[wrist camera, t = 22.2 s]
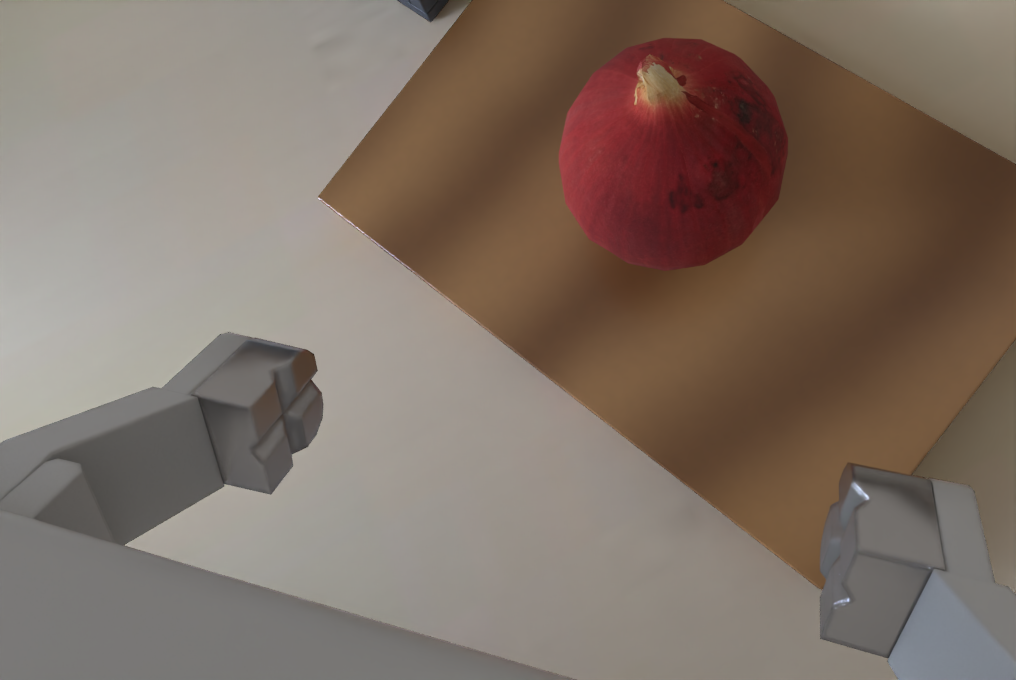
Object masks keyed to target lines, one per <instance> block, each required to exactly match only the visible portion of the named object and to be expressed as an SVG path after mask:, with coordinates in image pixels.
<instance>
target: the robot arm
mask: <svg viewBox="0 0 1016 680" xmlns="http://www.w3.org/2000/svg"><path fill="white" fill-rule="evenodd" d="M317 371H318V370H317V366H316V361H315V357H314V354H313V353H311V352H310V351H308V350H306V349H302V348H297V347H293V346H289V345H285V344H280V343H276V342H272V341H268V340H263V339H259V338H252V337H248V336H244V335H239V334H235V333H231V332H228V333H224V334H220V335H219V336H218V337H217V338H215V339H214V340H213V341H212V342H211V343H210V344H209V345H208V346H207V347H206V348H205V349H204V350H202V351H201V352H200V353H199V354H198V355H197V356H196V357H195V358H194V359H193V360H192V361H191V362H189V363H188V364H187V365H186V366H185V367H184V368H183V369H182V370H181V371H180V372H179V373H178V374H176V375H175V376H174V377H173V378H172V379H171V380H170V381H169V382H168V383H167V384H166V385H165V386H163V387H162V388H157V387H151V388H148V389H146V390H143V391H140V392H137V393H135V394H132V395H129V396H126V397H123V398H121V399H118V400H115V401H112V402H110V403H107V404H104V405H101V406H99V407H96V408H93V409H90V410H88V411H85V412H82V413H79V414H77V415H74V416H71V417H68V418H65V419H63V420H60V421H57V422H54V423H52V424H49V425H46V426H43V427H41V428H38V429H35V430H32V431H30V432H27V433H24V434H21V435H19V436H16V437H13V438H10V439H8V440H5V441H3V442H2V443H1V444H0V680H576V679H572V678H569V677H566V676H562V675H559V674H555V673H552V672H549V671H545V670H542V669H538V668H535V667H532V666H528V665H525V664H522V663H518V662H515V661H511V660H508V659H505V658H501V657H498V656H495V655H491V654H488V653H484V652H481V651H478V650H474V649H471V648H468V647H464V646H461V645H457V644H454V643H451V642H447V641H444V640H441V639H437V638H434V637H431V636H427V635H424V634H420V633H417V632H414V631H410V630H407V629H404V628H400V627H397V626H393V625H390V624H387V623H383V622H380V621H377V620H373V619H370V618H367V617H363V616H360V615H356V614H353V613H350V612H346V611H343V610H340V609H336V608H333V607H329V606H326V605H323V604H319V603H316V602H313V601H309V600H306V599H302V598H299V597H296V596H292V595H289V594H286V593H282V592H279V591H275V590H272V589H269V588H265V587H262V586H259V585H255V584H252V583H248V582H245V581H242V580H238V579H235V578H232V577H228V576H225V575H221V574H218V573H215V572H211V571H208V570H205V569H201V568H198V567H194V566H191V565H188V564H184V563H181V562H178V561H174V560H171V559H167V558H164V557H161V556H157V555H154V554H151V553H147V552H144V551H140V550H137V549H134V548H130V547H127V546H124V545H125V544H127V543H128V542H130V541H132V540H134V539H135V538H137V537H139V536H140V535H142V534H144V533H145V532H147V531H149V530H151V529H152V528H154V527H156V526H157V525H159V524H161V523H163V522H164V521H166V520H168V519H169V518H171V517H173V516H174V515H176V514H178V513H180V512H181V511H183V510H185V509H186V508H188V507H190V506H192V505H193V504H195V503H197V502H198V501H200V500H202V499H204V498H205V497H207V496H209V495H210V494H212V493H214V492H215V491H217V490H219V489H221V488H222V487H224V484H227V485H232V486H236V487H240V488H245V489H249V490H253V491H258V492H262V493H266V494H272V493H273V491H274V490H275V489H276V488H277V486H278V485H279V484H280V482H281V481H282V480H283V478H284V477H285V476H286V475H287V473H288V472H289V471H290V469H291V468H292V467H293V460H292V454H294V453H296V452H298V451H300V450H302V449H304V448H306V447H308V446H309V444H310V443H311V441H312V440H313V439H314V437H315V436H316V435H317V432H318V429H319V426H320V423H321V421H322V417H323V399H322V392H321V391H320V390H319V389H318V387H317V386H316V385H315V384H314V383H313V381H312V380H311V379H312V378H313V376H314V375H315V374H316V372H317ZM820 572H821V573H822V575H823V576H824V577H825V579H826V582H825V585H824V587H823V590H822V593H821V596H820V639H823V640H826V641H830V642H833V643H837V644H840V645H844V646H847V647H851V648H854V649H858V650H861V651H865V652H868V653H871V654H875V655H878V656H882V657H885V658H889V659H888V661H887V662H888V663H889V665H890V667H891V668H892V670H893V671H894V673H895V675H896V676H897V678H898V680H1016V594H1015V593H1014V592H1013V591H1012V590H1011V589H1010V588H1009V587H1008V586H1005V585H1000V584H996V583H995V579H994V575H993V571H992V566H991V562H990V557H989V553H988V549H987V544H986V540H985V536H984V531H983V527H982V522H981V518H980V514H979V509H978V505H977V501H976V496H975V492H974V490H973V489H972V488H971V487H970V486H969V485H965V484H960V483H954V482H949V481H944V480H939V479H933V478H927V479H926V478H924V477H920V476H915V475H910V474H905V473H900V472H895V471H890V470H885V469H880V468H875V467H870V466H865V465H860V464H855V463H850V462H848V463H847V465H846V466H845V468H844V469H843V472H842V475H841V478H840V480H839V501H837V502H836V503H834V504H832V505H830V508H829V512H828V515H827V518H826V521H825V525H824V530H823V535H822V539H821V549H820Z"/></svg>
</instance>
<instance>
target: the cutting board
mask: <svg viewBox="0 0 1016 680" xmlns="http://www.w3.org/2000/svg"><path fill="white" fill-rule="evenodd" d="M661 38H684V39H702V40H704V41H707V42H709V43H711V44H713V45H716V46H718V47H720V48H722V49H725V50H727V51H729V52H731V53H734V54H735V55H737V56H738V57H740V58H741V59H742V60H743V61H744V62H745V63H746V64H747V65H748V66H749V67H750V68H751V69H752V71H753V72H754V73H755V74H756V75H757V76H758V77H759V78H760V79H761V80H762V81H763V82H764V83H765V84H766V85H767V86H768V88H769V89H770V91H771V92H772V94H773V95H774V97H775V99H776V102H777V105H778V108H779V112H780V115H781V118H782V121H783V124H784V127H785V130H786V133H787V136H788V155H787V160H786V165H785V170H784V175H783V180H782V185H781V190H780V195H779V199H778V201H777V202H776V203H775V204H774V206H773V207H772V208H771V210H770V211H769V212H768V213H767V215H766V216H765V217H764V218H763V219H762V221H761V222H760V223H759V224H758V226H757V227H756V228H755V229H754V231H753V232H752V233H751V234H750V236H749V237H748V238H747V239H746V240H745V242H744V243H743V244H742V245H740V246H738V247H736V248H735V249H733V250H731V251H729V252H727V253H726V254H724V255H722V256H720V257H718V258H717V259H715V260H713V261H711V262H709V263H707V264H706V265H702V266H696V267H689V268H682V269H676V270H669V271H663V270H658V269H653V268H648V267H643V266H638V265H633V264H628V263H627V262H625V261H624V260H622V259H620V258H619V257H617V256H616V255H614V254H613V253H611V252H609V251H608V250H606V249H604V248H603V247H601V246H599V245H598V244H596V243H594V242H593V241H591V240H589V239H588V237H587V236H586V234H585V233H584V231H583V229H582V228H581V226H580V225H579V223H578V222H577V220H576V219H575V217H574V216H573V214H572V212H571V211H570V209H569V208H568V206H567V205H566V203H565V197H564V191H563V185H562V179H561V173H560V168H559V149H560V145H561V140H562V135H563V131H564V126H565V121H566V117H567V112H568V111H569V109H570V108H571V106H572V105H573V103H574V102H575V100H576V98H577V97H578V95H579V94H580V92H581V91H582V89H583V88H584V86H585V85H586V83H587V82H588V80H589V79H590V77H591V76H592V74H593V73H594V72H595V71H597V70H598V69H599V68H600V67H602V66H603V65H604V64H606V63H607V62H608V61H610V60H611V59H612V58H614V57H615V56H616V55H617V54H619V53H620V52H621V51H623V50H624V49H625V48H627V47H631V46H635V45H638V44H642V43H646V42H650V41H654V40H657V39H661ZM318 199H319V200H320V201H322V202H323V203H324V204H325V205H327V206H328V207H329V208H331V209H332V210H333V211H334V212H336V213H337V214H338V215H339V216H341V217H342V218H343V219H345V220H346V221H347V222H348V223H350V224H351V225H352V226H354V227H355V228H356V229H357V230H359V231H360V232H361V233H363V234H364V235H365V236H366V237H368V238H369V239H370V240H372V241H373V242H374V243H375V244H377V245H378V246H379V247H381V248H382V249H383V250H384V251H386V252H387V253H388V254H390V255H391V256H392V257H393V258H395V259H396V260H397V261H399V262H400V263H401V264H402V265H404V266H405V267H406V268H408V269H409V270H410V271H411V272H413V273H414V274H415V275H417V276H418V277H419V278H420V279H422V280H423V281H424V282H426V283H427V284H428V285H429V286H431V287H432V288H433V289H435V290H436V291H437V292H438V293H440V294H441V295H442V296H443V297H445V298H446V299H447V300H449V301H450V302H451V303H452V304H454V305H455V306H456V307H458V308H459V309H460V310H461V311H463V312H464V313H465V314H467V315H468V316H469V317H470V318H472V319H473V320H474V321H476V322H477V323H478V324H479V325H481V326H482V327H483V328H485V329H486V330H487V331H488V332H490V333H491V334H492V335H494V336H495V337H496V338H497V339H499V340H500V341H501V342H503V343H504V344H505V345H506V346H508V347H509V348H510V349H512V350H513V351H514V352H515V353H517V354H518V355H519V356H521V357H522V358H523V359H524V360H526V361H527V362H528V363H530V364H531V365H532V366H533V367H535V368H536V369H537V370H539V371H540V372H541V373H542V374H544V375H545V376H546V377H548V378H549V379H550V380H551V381H553V382H554V383H555V384H557V385H558V386H559V387H560V388H562V389H563V390H564V391H565V392H567V393H568V394H569V395H571V396H572V397H573V398H574V399H576V400H577V401H578V402H580V403H581V404H582V405H583V406H585V407H586V408H587V409H589V410H590V411H591V412H592V413H594V414H595V415H596V416H598V417H599V418H600V419H601V420H603V421H604V422H605V423H607V424H608V425H609V426H610V427H612V428H613V429H614V430H616V431H617V432H618V433H619V434H621V435H622V436H623V437H625V438H626V439H627V440H628V441H630V442H631V443H632V444H634V445H635V446H636V447H637V448H639V449H640V450H641V451H643V452H644V453H645V454H646V455H648V456H649V457H650V458H652V459H653V460H654V461H655V462H657V463H658V464H659V465H661V466H662V467H663V468H664V469H666V470H667V471H668V472H670V473H671V474H672V475H673V476H675V477H676V478H677V479H679V480H680V481H681V482H682V483H684V484H685V485H686V486H687V487H689V488H690V489H691V490H693V491H694V492H695V493H696V494H698V495H699V496H700V497H702V498H703V499H704V500H705V501H707V502H708V503H709V504H711V505H712V506H713V507H714V508H716V509H717V510H718V511H720V512H721V513H722V514H723V515H725V516H726V517H727V518H729V519H730V520H731V521H732V522H734V523H735V524H736V525H738V526H739V527H740V528H741V529H743V530H744V531H745V532H747V533H748V534H749V535H750V536H752V537H753V538H754V539H756V540H757V541H758V542H759V543H761V544H762V545H763V546H765V547H766V548H767V549H768V550H770V551H771V552H772V553H774V554H775V555H776V556H777V557H779V558H780V559H781V560H783V561H784V562H785V563H786V564H788V565H789V566H790V567H792V568H793V569H794V570H795V571H797V572H798V573H799V574H801V575H802V576H803V577H804V578H806V579H807V580H808V581H809V582H811V583H812V584H813V585H815V586H816V587H817V588H819V589H821V590H822V589H823V587H824V585H825V582H826V579H825V577H824V576H823V575H822V573H821V572H820V549H821V539H822V535H823V530H824V525H825V521H826V518H827V515H828V512H829V508H830V505H832V504H834V503H836V502H837V501H839V480H840V478H841V475H842V472H843V469H844V468H845V466H846V465H847V463H848V462H850V463H855V464H860V465H865V466H870V467H875V468H880V469H885V470H890V471H895V472H900V473H905V474H910V475H912V473H913V472H914V471H915V469H916V468H917V467H918V466H919V464H920V463H921V462H922V460H923V459H924V458H925V457H926V455H927V454H928V453H929V451H930V450H931V449H932V447H933V446H934V445H935V444H936V442H937V441H938V440H939V438H940V437H941V436H942V434H943V433H944V432H945V431H946V429H947V428H948V427H949V425H950V424H951V423H952V422H953V420H954V419H955V418H956V416H957V415H958V414H959V412H960V411H961V410H962V409H963V407H964V406H965V405H966V403H967V402H968V401H969V400H970V398H971V397H972V396H973V394H974V393H975V392H976V390H977V389H978V388H979V387H980V385H981V384H982V383H983V381H984V380H985V379H986V377H987V376H988V375H989V374H990V372H991V371H992V370H993V368H994V367H995V366H996V365H997V363H998V362H999V361H1000V359H1001V358H1002V357H1003V355H1004V354H1005V353H1006V352H1007V350H1008V349H1009V348H1010V346H1011V345H1012V344H1013V342H1014V341H1015V340H1016V164H1015V163H1013V162H1011V161H1009V160H1007V159H1006V158H1004V157H1002V156H1000V155H998V154H997V153H995V152H993V151H991V150H989V149H988V148H986V147H984V146H982V145H981V144H979V143H977V142H975V141H973V140H972V139H970V138H968V137H966V136H964V135H963V134H961V133H959V132H957V131H955V130H954V129H952V128H950V127H948V126H947V125H945V124H943V123H941V122H939V121H938V120H936V119H934V118H932V117H930V116H929V115H927V114H925V113H923V112H922V111H920V110H918V109H916V108H914V107H913V106H911V105H909V104H907V103H905V102H904V101H902V100H900V99H898V98H896V97H895V96H893V95H891V94H889V93H888V92H886V91H884V90H882V89H880V88H879V87H877V86H875V85H873V84H871V83H870V82H868V81H866V80H864V79H862V78H861V77H859V76H857V75H855V74H854V73H852V72H850V71H848V70H846V69H845V68H843V67H841V66H839V65H837V64H836V63H834V62H832V61H830V60H829V59H827V58H825V57H823V56H821V55H820V54H818V53H816V52H814V51H812V50H811V49H809V48H807V47H805V46H803V45H802V44H800V43H798V42H796V41H795V40H793V39H791V38H789V37H787V36H786V35H784V34H782V33H780V32H778V31H777V30H775V29H773V28H771V27H769V26H768V25H766V24H764V23H762V22H761V21H759V20H757V19H755V18H753V17H752V16H750V15H748V14H746V13H744V12H743V11H741V10H739V9H737V8H736V7H734V6H732V5H730V4H728V3H727V2H725V1H723V0H472V1H471V2H470V4H469V5H468V6H467V7H466V9H465V10H464V11H463V13H462V14H461V15H460V16H459V18H458V19H457V20H456V22H455V23H454V24H453V25H452V27H451V28H450V29H449V30H448V32H447V33H446V34H445V36H444V37H443V38H442V39H441V41H440V42H439V43H438V44H437V46H436V47H435V48H434V50H433V51H432V52H431V53H430V55H429V56H428V57H427V58H426V60H425V61H424V62H423V64H422V65H421V66H420V67H419V69H418V70H417V71H416V72H415V74H414V75H413V76H412V78H411V79H410V80H409V81H408V83H407V84H406V85H405V86H404V88H403V89H402V90H401V92H400V93H399V94H398V95H397V97H396V98H395V99H394V100H393V102H392V103H391V104H390V106H389V107H388V108H387V109H386V111H385V112H384V113H383V114H382V116H381V117H380V118H379V120H378V121H377V122H376V123H375V125H374V126H373V127H372V128H371V130H370V131H369V132H368V134H367V135H366V136H365V137H364V139H363V140H362V141H361V142H360V144H359V145H358V146H357V148H356V149H355V150H354V151H353V153H352V154H351V155H350V156H349V158H348V159H347V160H346V162H345V163H344V164H343V165H342V167H341V168H340V169H339V170H338V172H337V173H336V174H335V176H334V177H333V178H332V179H331V181H330V182H329V183H328V184H327V186H326V187H325V188H324V190H323V191H322V192H321V193H320V195H319V196H318Z"/></svg>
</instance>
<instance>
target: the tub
mask: <svg viewBox="0 0 1016 680" xmlns="http://www.w3.org/2000/svg"><path fill="white" fill-rule="evenodd" d="M398 1H399V2H401V3H402V4H404V5H405V6H407V7H408V8H410V9H411V10H413V11H414V12H416V13H418V14H419V15H421V16H422V17H424V18H425V19H427V20H428V21H430V22H432V21H433V19H434V18H435V17H436V15H437V14H438V13H439V12H440V10H441V9H442V8H443V7H444V5H445V4H446V3H447V1H448V0H398Z"/></svg>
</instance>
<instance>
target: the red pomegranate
mask: <svg viewBox="0 0 1016 680" xmlns="http://www.w3.org/2000/svg"><path fill="white" fill-rule="evenodd" d="M787 155H788V136H787V133H786V130H785V127H784V124H783V121H782V118H781V115H780V112H779V108H778V105H777V102H776V99H775V97H774V95H773V94H772V92H771V91H770V89H769V88H768V86H767V85H766V84H765V83H764V82H763V81H762V80H761V79H760V78H759V77H758V76H757V75H756V74H755V73H754V72H753V71H752V69H751V68H750V67H749V66H748V65H747V64H746V63H745V62H744V61H743V60H742V59H741V58H740V57H738V56H737V55H735V54H734V53H731V52H729V51H727V50H725V49H722V48H720V47H718V46H716V45H713V44H711V43H709V42H707V41H704V40H702V39H684V38H661V39H657V40H654V41H650V42H646V43H642V44H638V45H635V46H631V47H627V48H625V49H624V50H623V51H621V52H620V53H619V54H617V55H616V56H615V57H614V58H612V59H611V60H610V61H608V62H607V63H606V64H604V65H603V66H602V67H600V68H599V69H598V70H597V71H595V72H594V73H593V74H592V76H591V77H590V79H589V80H588V82H587V83H586V85H585V86H584V88H583V89H582V91H581V92H580V94H579V95H578V97H577V98H576V100H575V102H574V103H573V105H572V106H571V108H570V109H569V111H568V112H567V117H566V121H565V126H564V131H563V135H562V140H561V145H560V149H559V168H560V173H561V179H562V185H563V191H564V197H565V203H566V205H567V206H568V208H569V209H570V211H571V212H572V214H573V216H574V217H575V219H576V220H577V222H578V223H579V225H580V226H581V228H582V229H583V231H584V233H585V234H586V236H587V237H588V239H589V240H591V241H593V242H594V243H596V244H598V245H599V246H601V247H603V248H604V249H606V250H608V251H609V252H611V253H613V254H614V255H616V256H617V257H619V258H620V259H622V260H624V261H625V262H627V263H628V264H633V265H638V266H643V267H648V268H653V269H658V270H663V271H669V270H676V269H682V268H689V267H696V266H702V265H706V264H707V263H709V262H711V261H713V260H715V259H717V258H718V257H720V256H722V255H724V254H726V253H727V252H729V251H731V250H733V249H735V248H736V247H738V246H740V245H742V244H743V243H744V242H745V240H746V239H747V238H748V237H749V236H750V234H751V233H752V232H753V231H754V229H755V228H756V227H757V226H758V224H759V223H760V222H761V221H762V219H763V218H764V217H765V216H766V215H767V213H768V212H769V211H770V210H771V208H772V207H773V206H774V204H775V203H776V202H777V201H778V199H779V195H780V190H781V185H782V180H783V175H784V170H785V165H786V160H787Z"/></svg>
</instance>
